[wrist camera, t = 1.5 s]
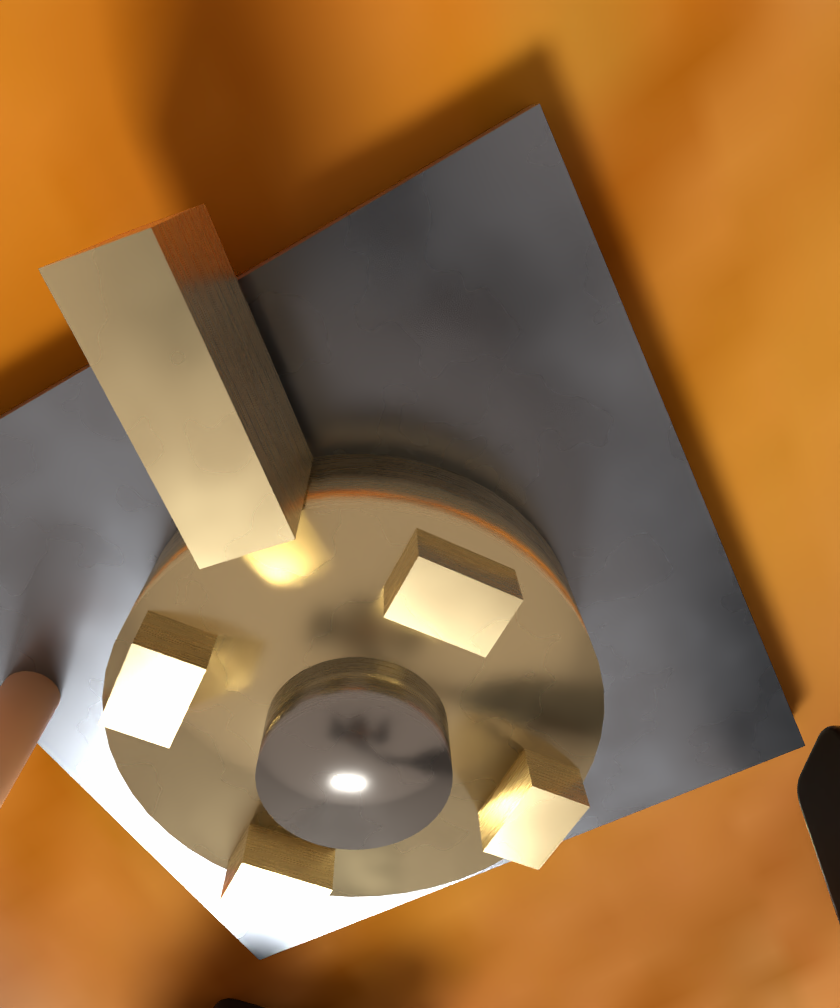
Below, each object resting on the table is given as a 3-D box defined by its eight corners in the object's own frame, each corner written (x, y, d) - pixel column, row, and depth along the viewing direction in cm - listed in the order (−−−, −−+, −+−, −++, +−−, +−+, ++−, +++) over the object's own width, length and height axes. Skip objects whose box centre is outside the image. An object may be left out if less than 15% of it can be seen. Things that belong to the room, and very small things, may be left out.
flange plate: (531, 104, 17) (539, 103, 16) (790, 723, 25) (805, 745, 24) (-159, 508, 20) (-184, 527, 20) (263, 933, 29) (259, 960, 28)
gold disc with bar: (617, 751, 23) (665, 886, 19) (248, 849, 25) (220, 995, 21) (435, 118, 16) (452, 117, 12) (-88, 310, 17) (-241, 371, 13)
